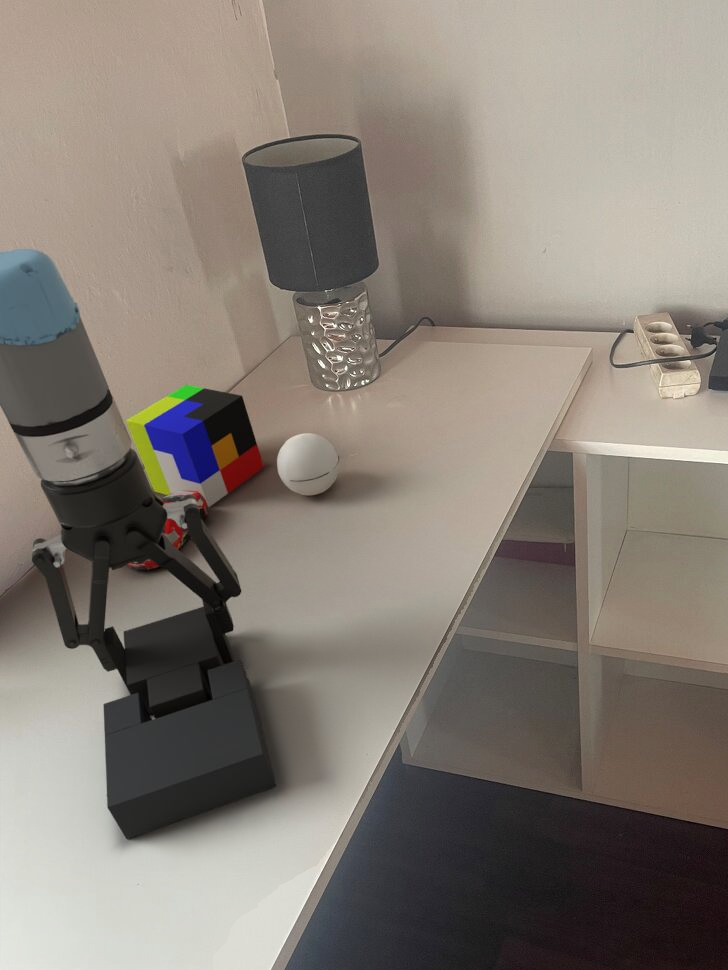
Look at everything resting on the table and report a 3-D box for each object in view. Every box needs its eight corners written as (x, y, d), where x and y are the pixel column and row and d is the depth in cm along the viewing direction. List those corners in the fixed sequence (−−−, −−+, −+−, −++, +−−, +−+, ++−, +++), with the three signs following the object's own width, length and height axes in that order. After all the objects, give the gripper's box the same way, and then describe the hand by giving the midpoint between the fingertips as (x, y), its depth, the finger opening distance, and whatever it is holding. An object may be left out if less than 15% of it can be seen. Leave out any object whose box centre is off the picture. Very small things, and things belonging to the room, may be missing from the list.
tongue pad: (138, 662, 84) (123, 631, 81) (219, 636, 85) (206, 605, 83) (145, 745, 75) (129, 713, 72) (236, 715, 76) (222, 682, 74)
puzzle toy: (208, 507, 105) (182, 433, 99) (154, 491, 110) (125, 420, 104) (264, 467, 111) (242, 395, 105) (210, 453, 116) (186, 384, 110)
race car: (159, 577, 95) (146, 548, 92) (118, 573, 97) (105, 544, 94) (218, 510, 104) (208, 482, 102) (180, 507, 106) (169, 479, 103)
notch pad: (120, 735, 76) (103, 703, 74) (253, 691, 78) (240, 658, 76) (126, 839, 67) (107, 807, 65) (276, 786, 69) (263, 753, 67)
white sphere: (279, 510, 102) (263, 456, 98) (292, 477, 108) (277, 424, 104) (362, 503, 101) (349, 448, 97) (370, 470, 107) (358, 416, 102)
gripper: (-60, 526, 63) (70, 737, 77) (224, 445, 66) (298, 661, 80) (-48, 479, 68) (70, 684, 82) (213, 407, 72) (283, 615, 86)
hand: (183, 672), depth 81 cm, fingers closed on tongue pad, 8 cm apart
